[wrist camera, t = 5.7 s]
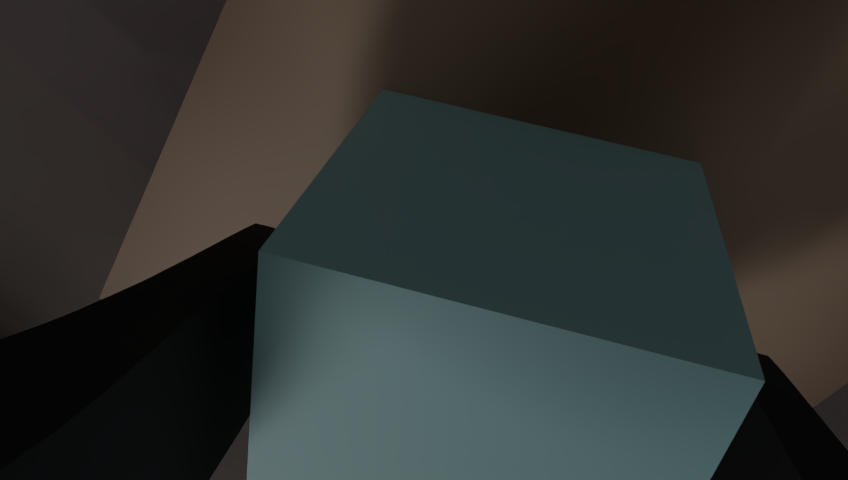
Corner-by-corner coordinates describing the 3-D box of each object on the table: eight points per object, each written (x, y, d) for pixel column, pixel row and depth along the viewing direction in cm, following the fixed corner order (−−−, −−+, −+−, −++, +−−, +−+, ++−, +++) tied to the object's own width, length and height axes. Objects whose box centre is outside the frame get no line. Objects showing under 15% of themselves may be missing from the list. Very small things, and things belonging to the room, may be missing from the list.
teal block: (701, 163, 11) (765, 381, 7) (604, 400, 14) (607, 663, 9) (382, 89, 11) (258, 251, 7) (348, 332, 14) (242, 555, 10)
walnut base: (1021, 127, 12) (1110, 193, 10) (577, 490, 18) (575, 578, 16) (418, -318, 11) (376, -349, 9) (160, 237, 17) (98, 298, 15)
